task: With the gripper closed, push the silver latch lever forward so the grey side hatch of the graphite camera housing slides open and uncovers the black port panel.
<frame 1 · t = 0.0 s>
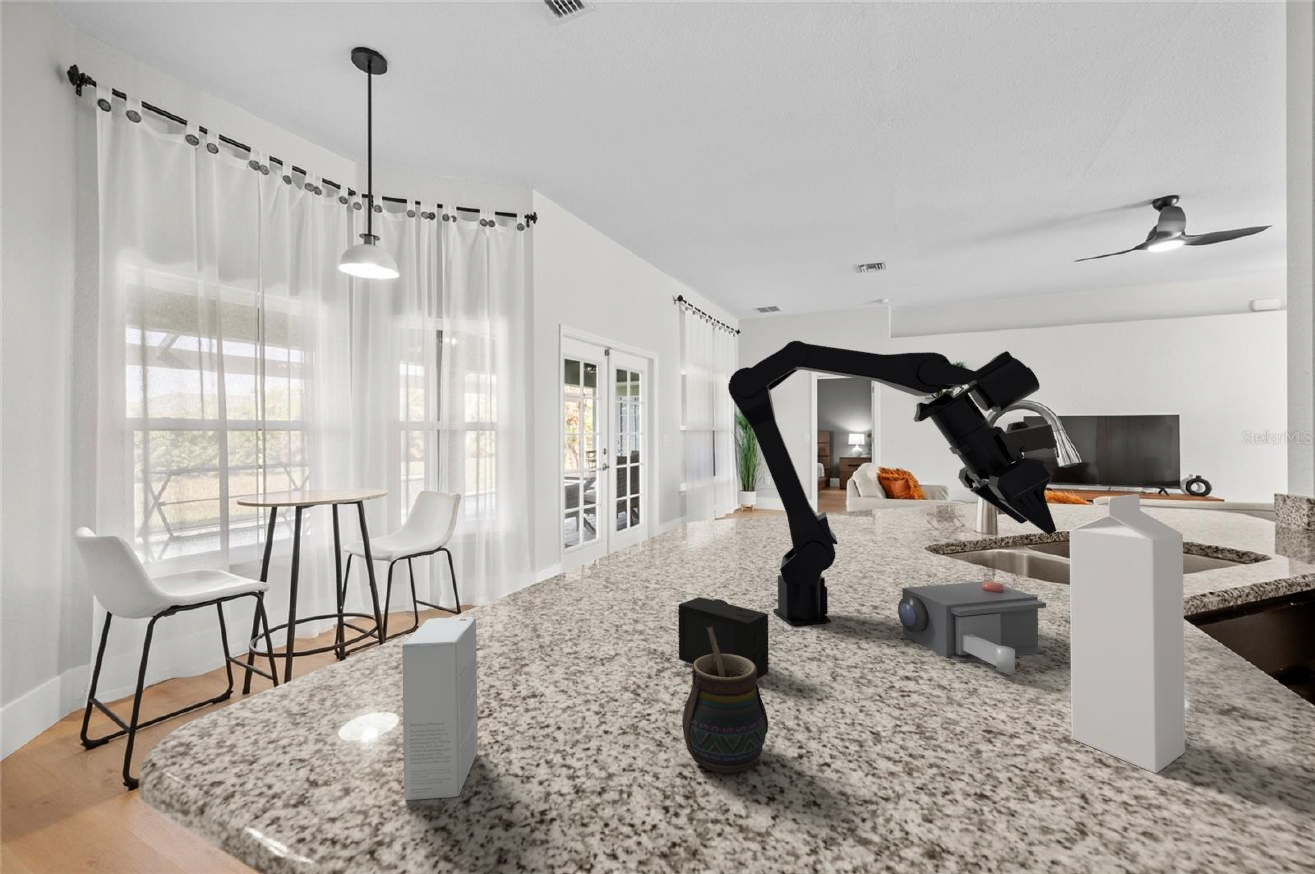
hand: (1037, 527, 74), 15 cm above the counter, tool tilted 35°, fingers open, 9 cm apart
side hatch: (1000, 642, 64), point 3 cm above the counter, slide at 0.0 cm
camera housing: (968, 640, 72), on the counter
skincare box: (442, 778, 44), on the counter
milk: (1127, 748, 47), on the counter
digital camera: (725, 666, 65), on the counter
mate gourd: (723, 760, 46), on the counter
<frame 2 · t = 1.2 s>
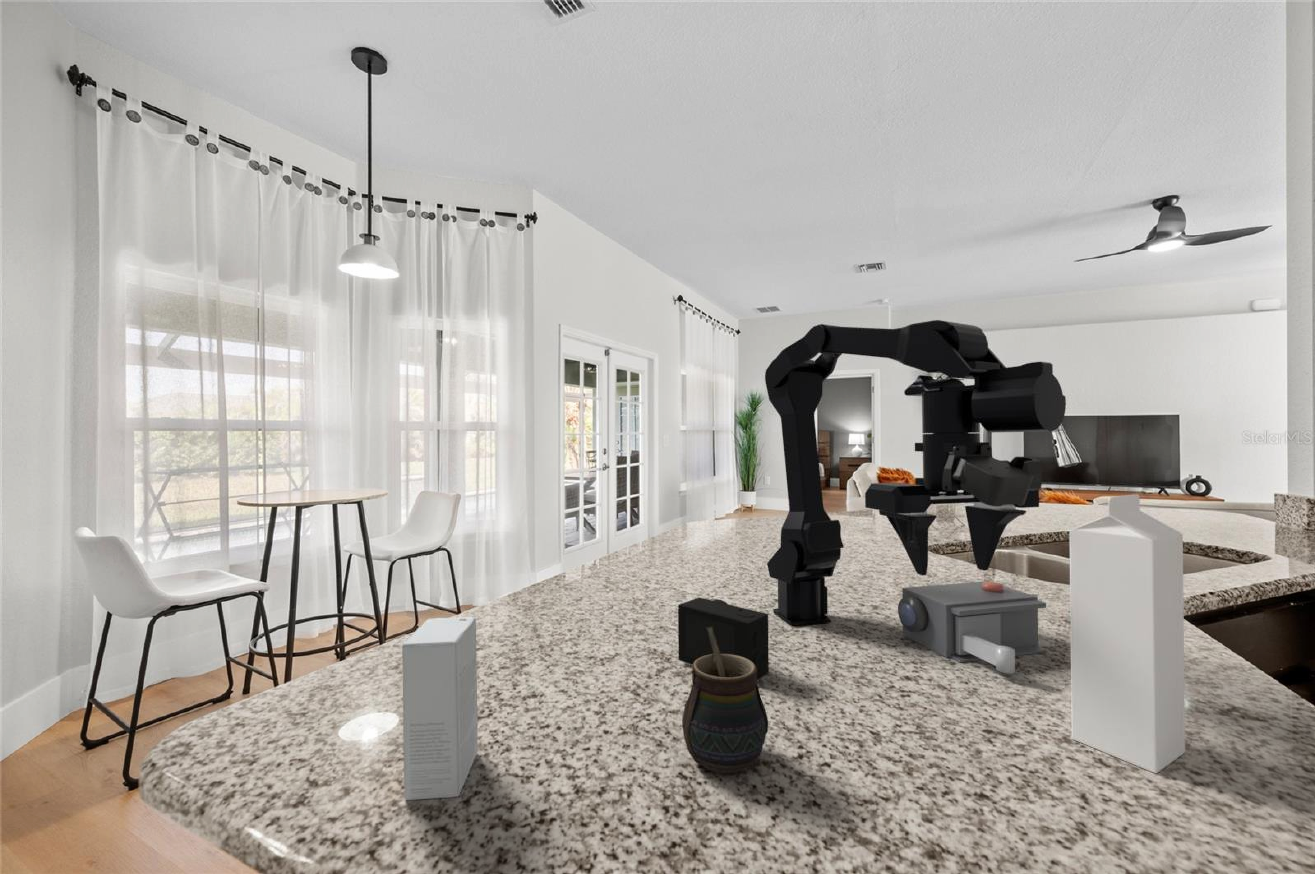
hand: (952, 572, 61), 12 cm above the counter, tool pointing down, fingers open, 8 cm apart
nothing on the counter moved.
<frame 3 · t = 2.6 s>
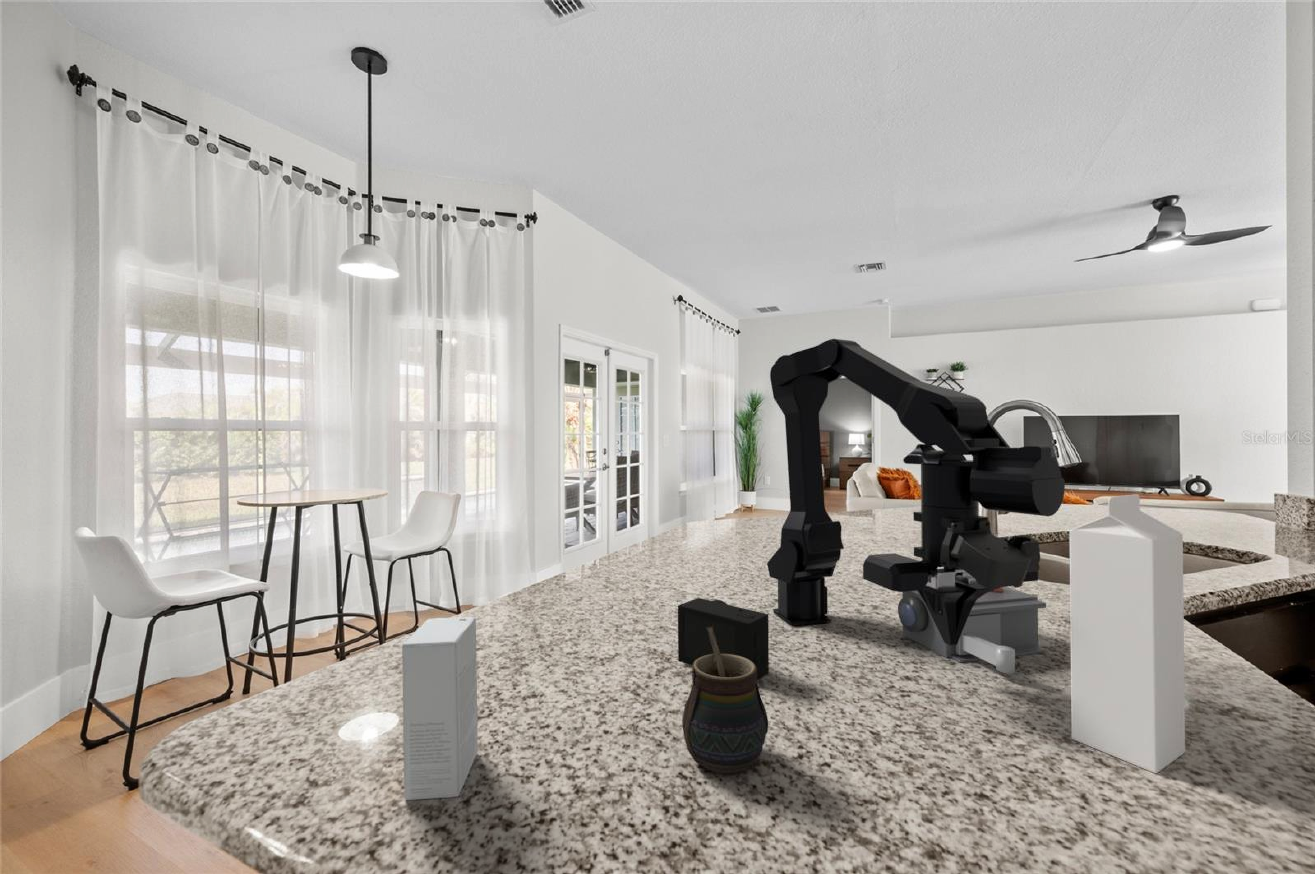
hand: (950, 644, 61), 4 cm above the counter, tool pointing down, fingers closed
nothing on the counter moved.
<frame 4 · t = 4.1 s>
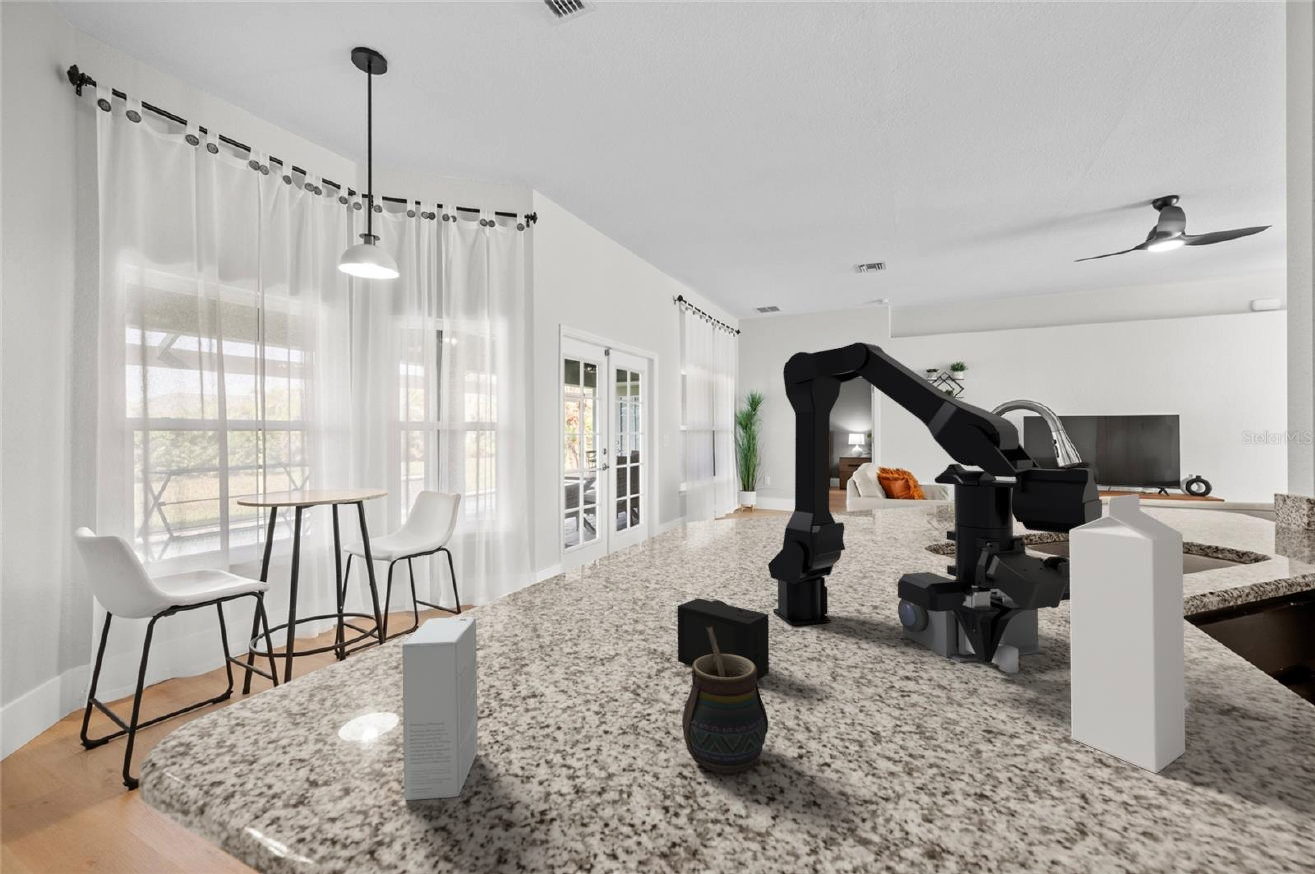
hand: (984, 662, 62), 2 cm above the counter, tool pointing down, fingers closed
side hatch: (1003, 642, 64), point 3 cm above the counter, slide at 0.5 cm, touching gripper
everything else where it was.
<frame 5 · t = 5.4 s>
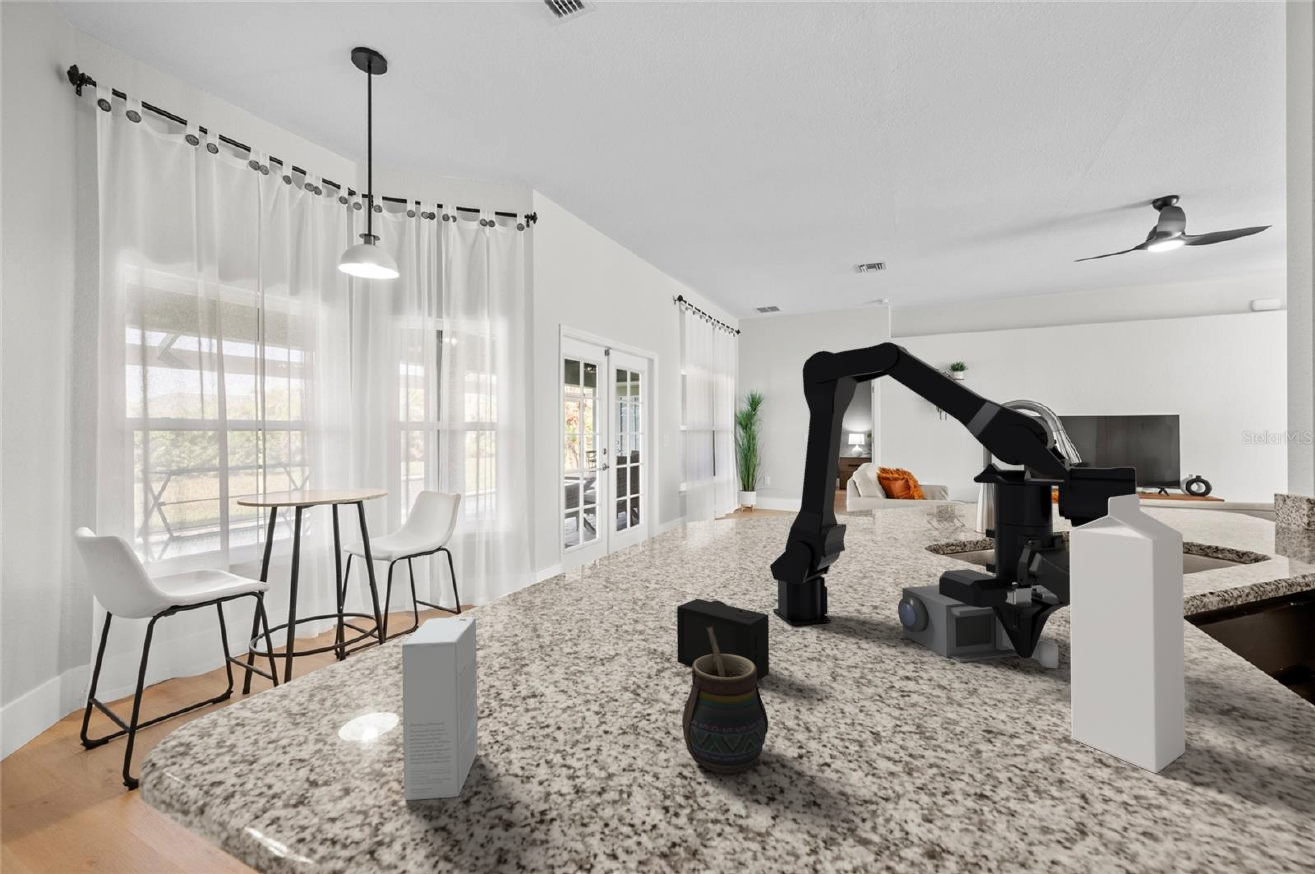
hand: (1024, 657, 63), 2 cm above the counter, tool pointing down, fingers closed
side hatch: (1041, 637, 65), point 3 cm above the counter, slide at 6.0 cm, touching gripper
everything else where it was.
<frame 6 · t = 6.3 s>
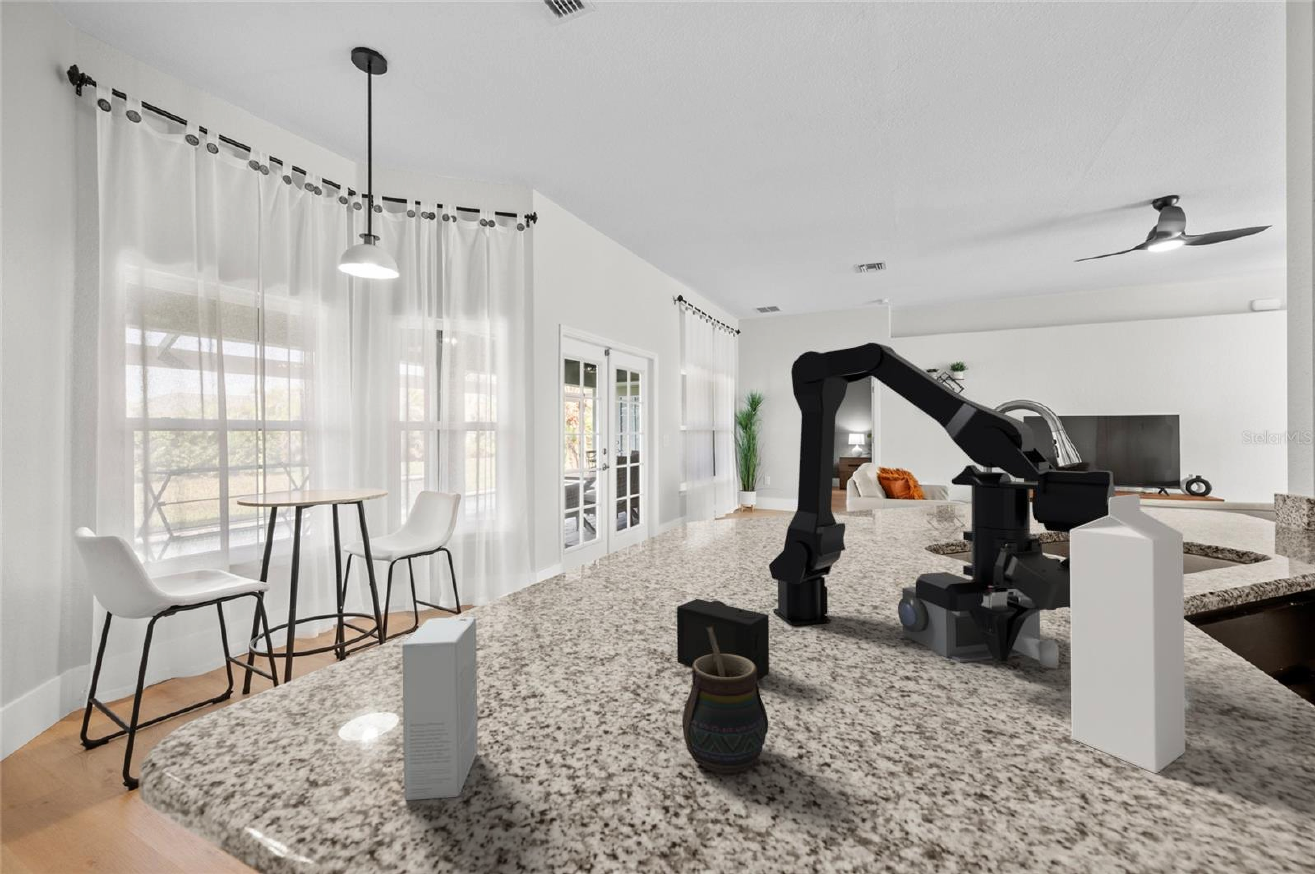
hand: (1000, 661, 62), 1 cm above the counter, tool pointing down, fingers closed
side hatch: (1041, 637, 65), point 3 cm above the counter, slide at 6.1 cm
everything else where it was.
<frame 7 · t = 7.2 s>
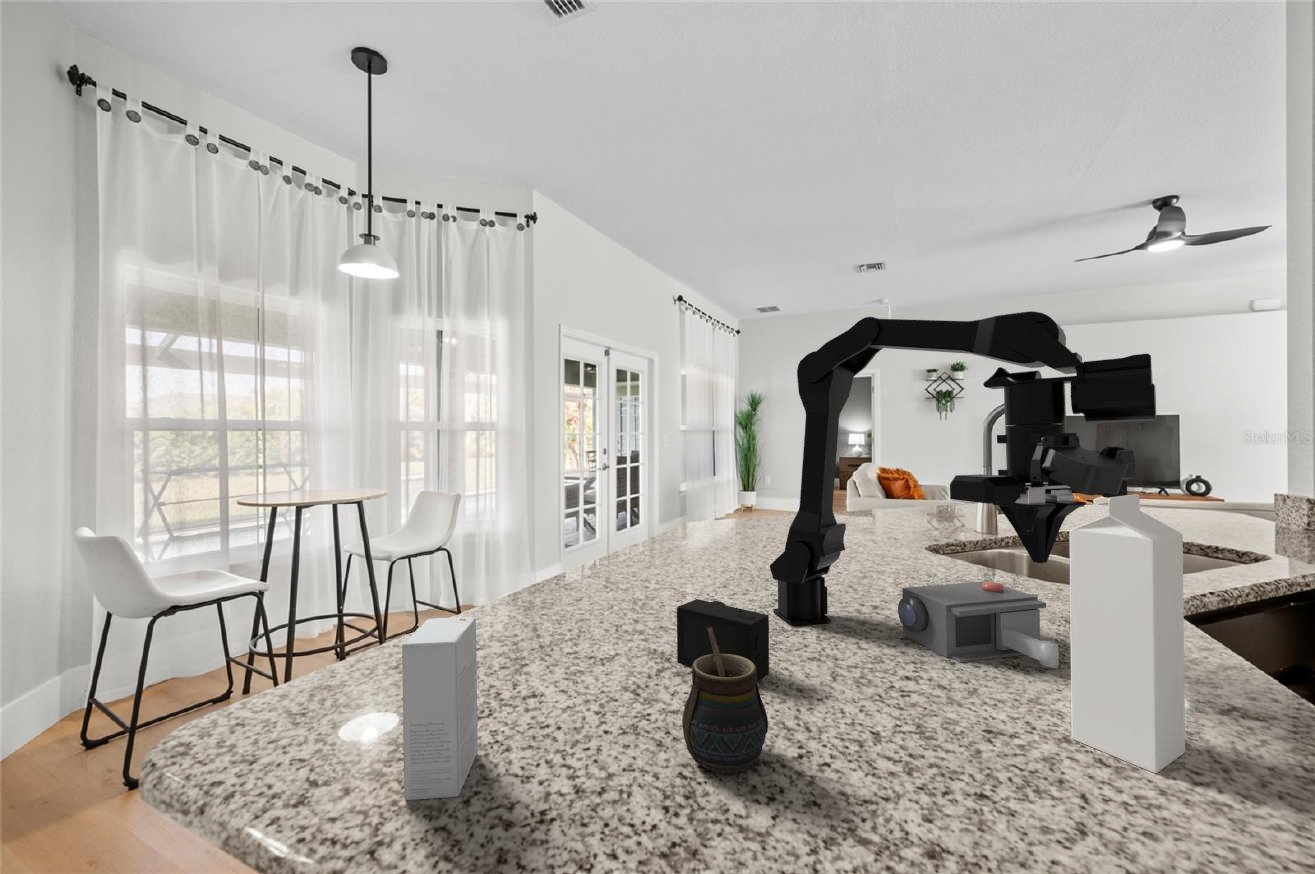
hand: (1039, 562, 61), 13 cm above the counter, tool pointing down, fingers closed
nothing on the counter moved.
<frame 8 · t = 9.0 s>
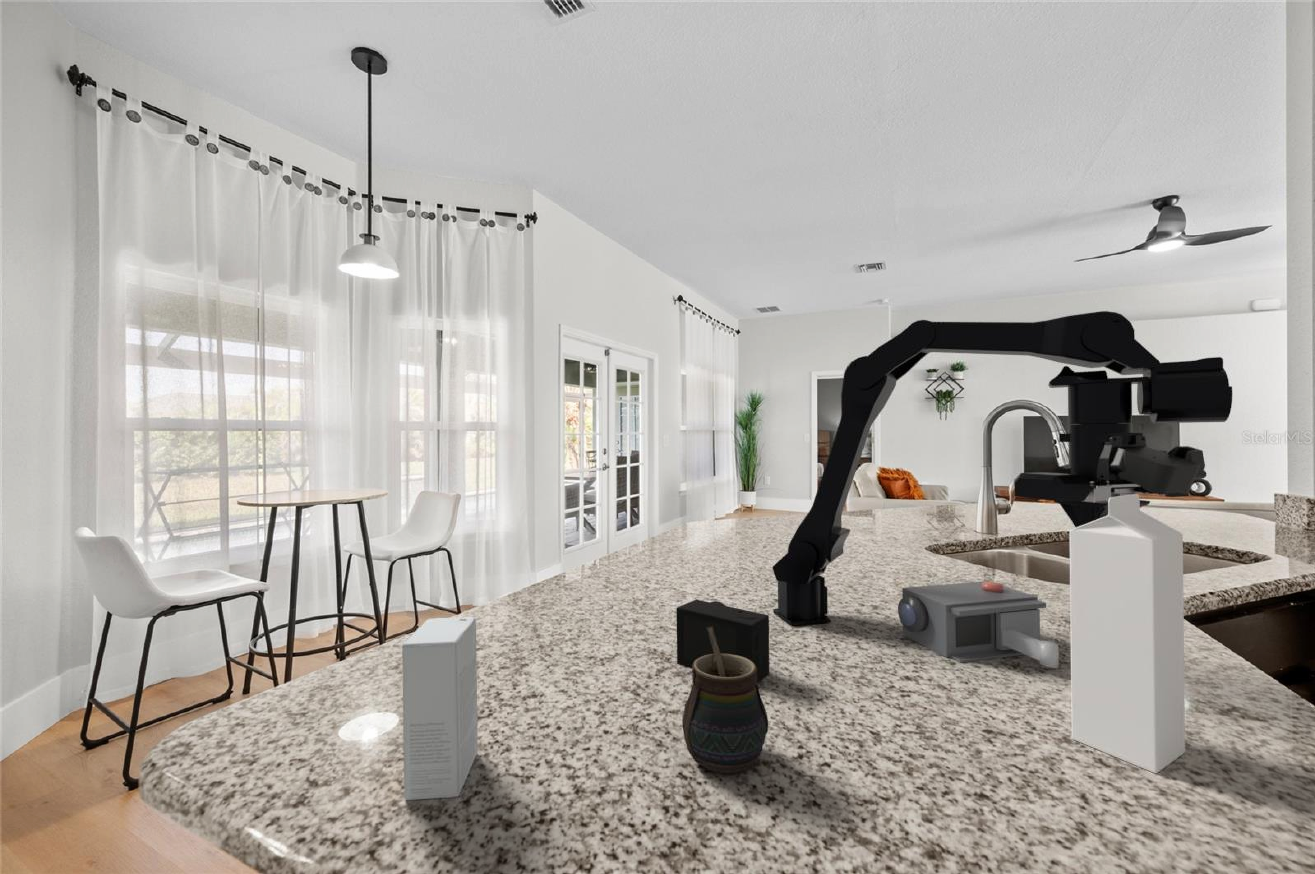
hand: (1100, 559, 62), 13 cm above the counter, tool pointing down, fingers closed
nothing on the counter moved.
at the end: side hatch slide at 6.1 cm; the gripper is holding nothing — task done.
